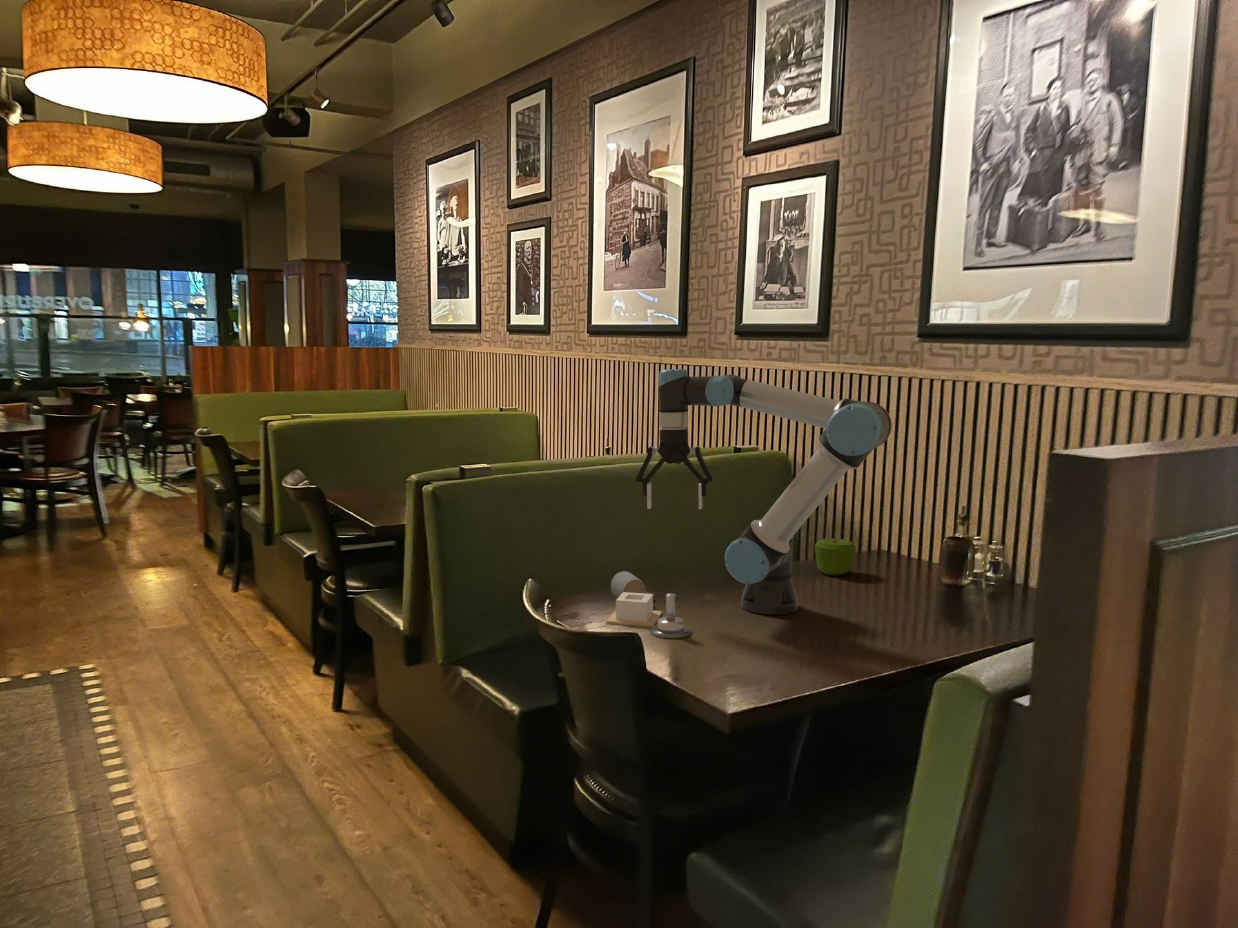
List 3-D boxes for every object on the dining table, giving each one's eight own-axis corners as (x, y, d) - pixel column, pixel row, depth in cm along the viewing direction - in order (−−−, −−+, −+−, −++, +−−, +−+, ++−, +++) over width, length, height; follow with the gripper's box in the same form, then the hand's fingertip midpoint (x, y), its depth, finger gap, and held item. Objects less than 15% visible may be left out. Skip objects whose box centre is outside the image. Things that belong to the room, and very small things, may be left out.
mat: (661, 613, 234) (661, 611, 234) (652, 626, 223) (652, 624, 223) (617, 610, 237) (617, 607, 237) (606, 623, 225) (606, 620, 225)
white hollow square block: (652, 612, 233) (653, 594, 232) (646, 621, 225) (646, 602, 224) (623, 610, 234) (623, 592, 234) (615, 619, 227) (615, 600, 226)
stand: (693, 627, 222) (694, 590, 221) (687, 640, 213) (687, 601, 211) (654, 624, 225) (654, 587, 223) (646, 636, 215) (646, 598, 214)
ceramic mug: (623, 606, 240) (624, 578, 239) (609, 599, 247) (610, 572, 247) (657, 602, 245) (658, 575, 244) (643, 595, 252) (643, 568, 252)
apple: (859, 578, 272) (860, 542, 270) (818, 578, 272) (820, 541, 270) (849, 568, 284) (850, 533, 283) (810, 568, 284) (811, 533, 283)
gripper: (722, 426, 235) (723, 506, 237) (629, 427, 240) (630, 505, 242) (720, 429, 228) (721, 511, 230) (624, 429, 232) (626, 510, 235)
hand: (674, 508), depth 236 cm, fingers open, 13 cm apart
